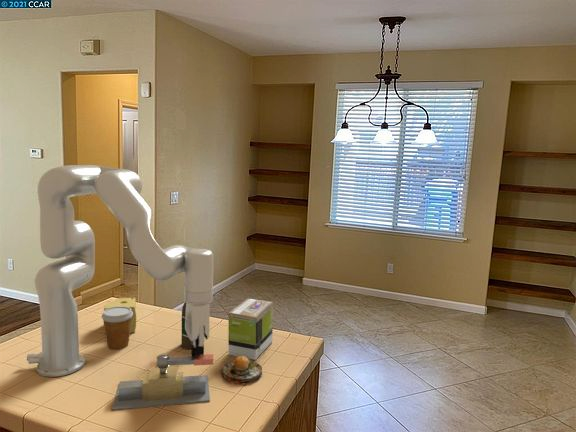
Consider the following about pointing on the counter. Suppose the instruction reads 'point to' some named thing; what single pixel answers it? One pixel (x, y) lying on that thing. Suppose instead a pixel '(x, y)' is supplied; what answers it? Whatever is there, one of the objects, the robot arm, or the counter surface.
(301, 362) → the counter surface
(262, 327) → the tea box
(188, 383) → the valve
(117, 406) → the mat
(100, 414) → the counter surface
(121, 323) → the disposable coffee cup
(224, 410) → the counter surface
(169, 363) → the lever
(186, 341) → the beer bottle
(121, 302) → the cheese
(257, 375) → the plate of food
